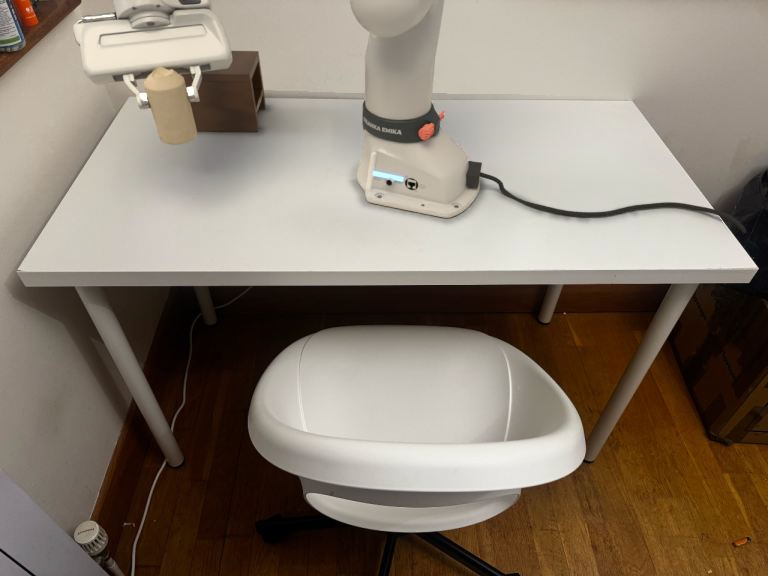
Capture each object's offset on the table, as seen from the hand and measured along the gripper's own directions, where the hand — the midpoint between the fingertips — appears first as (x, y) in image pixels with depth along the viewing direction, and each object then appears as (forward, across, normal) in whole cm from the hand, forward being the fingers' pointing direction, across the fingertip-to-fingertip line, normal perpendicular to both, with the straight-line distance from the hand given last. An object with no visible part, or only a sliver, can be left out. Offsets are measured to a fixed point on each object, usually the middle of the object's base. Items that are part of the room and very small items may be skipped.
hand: (170, 104), depth 81 cm
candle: (+4, 0, +4) cm, 6 cm away
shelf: (-8, +9, +36) cm, 38 cm away
